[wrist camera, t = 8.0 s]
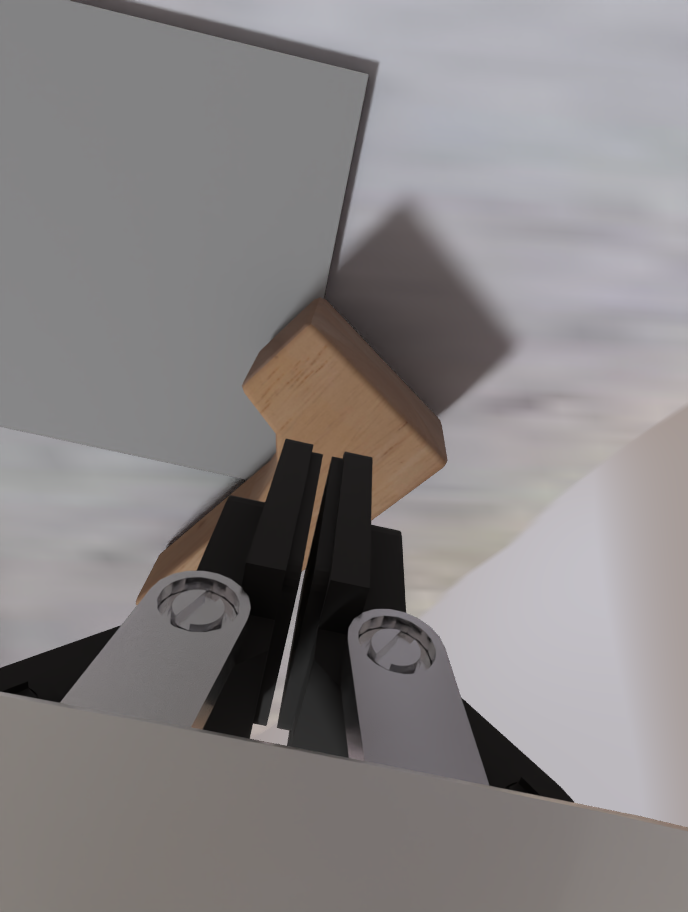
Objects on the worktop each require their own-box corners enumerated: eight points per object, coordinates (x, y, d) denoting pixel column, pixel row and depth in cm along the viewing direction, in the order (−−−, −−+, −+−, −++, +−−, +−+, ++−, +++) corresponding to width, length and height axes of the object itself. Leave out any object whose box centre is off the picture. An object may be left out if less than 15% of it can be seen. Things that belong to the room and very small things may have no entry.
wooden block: (320, 291, 30) (96, 505, 36) (310, 319, 26) (60, 554, 32) (444, 422, 32) (214, 598, 39) (451, 465, 28) (194, 653, 35)
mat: (-118, -44, 26) (-128, -49, 26) (368, 75, 27) (368, 74, 27) (-85, 403, 34) (-92, 407, 34) (286, 483, 35) (285, 488, 35)
